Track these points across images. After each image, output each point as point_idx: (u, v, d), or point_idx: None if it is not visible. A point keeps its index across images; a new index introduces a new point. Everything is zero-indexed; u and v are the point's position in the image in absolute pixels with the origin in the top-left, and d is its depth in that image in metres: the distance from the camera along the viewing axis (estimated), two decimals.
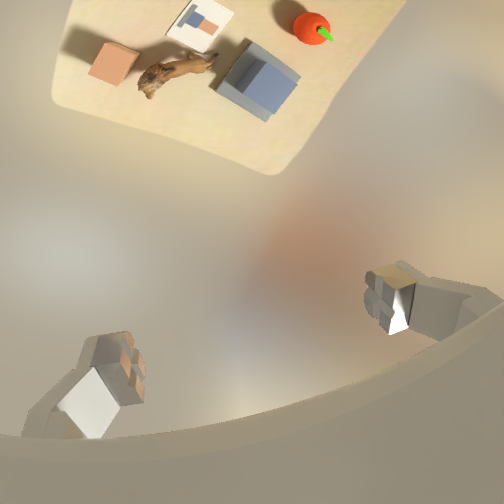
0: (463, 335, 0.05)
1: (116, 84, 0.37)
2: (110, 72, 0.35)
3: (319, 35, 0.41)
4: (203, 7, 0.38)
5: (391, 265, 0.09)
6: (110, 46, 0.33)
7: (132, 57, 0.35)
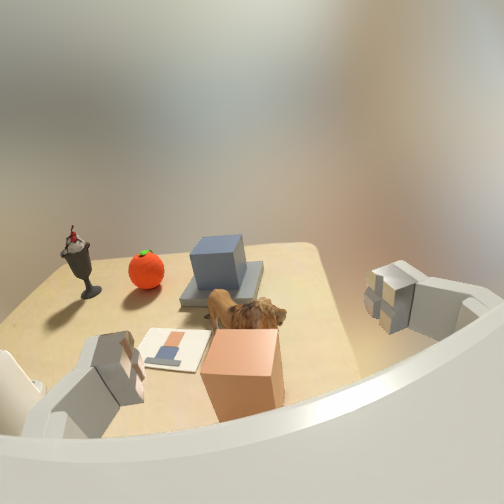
0: (463, 335, 0.05)
1: (274, 331, 0.26)
2: (256, 345, 0.24)
3: (148, 253, 0.53)
4: (147, 352, 0.38)
5: (391, 265, 0.09)
6: (206, 362, 0.23)
7: (221, 330, 0.27)
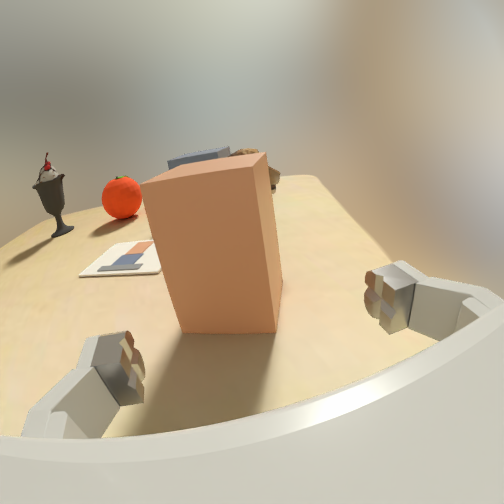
0: (463, 336, 0.05)
1: (261, 153, 0.17)
2: (232, 160, 0.16)
3: (125, 176, 0.44)
4: (104, 262, 0.29)
5: (391, 265, 0.09)
6: (153, 178, 0.15)
7: (185, 164, 0.18)
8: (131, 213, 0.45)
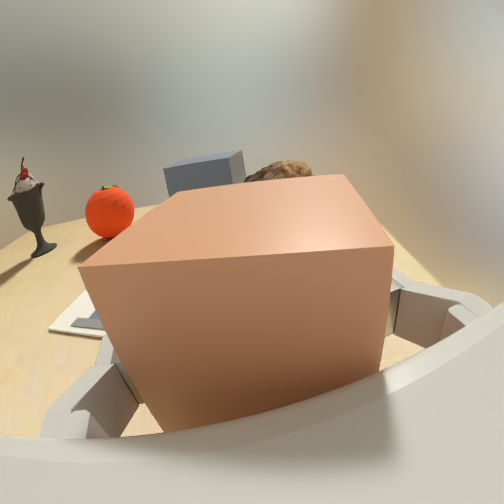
0: (463, 336, 0.05)
1: (337, 176, 0.09)
2: (291, 194, 0.07)
3: (113, 186, 0.36)
4: (81, 311, 0.21)
5: None
6: (115, 241, 0.06)
7: (187, 192, 0.10)
8: None
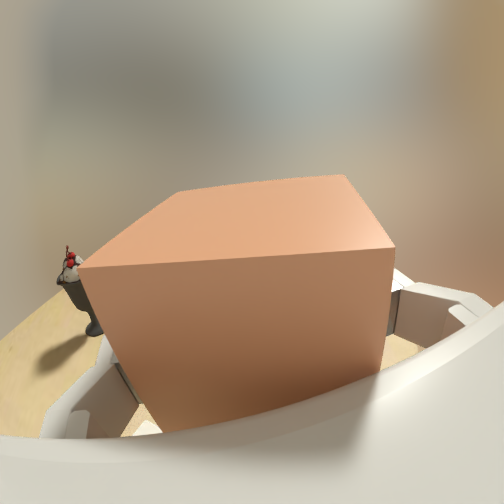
0: (463, 336, 0.05)
1: (337, 177, 0.09)
2: (291, 194, 0.07)
3: None
4: None
5: None
6: (113, 242, 0.06)
7: (186, 192, 0.10)
8: None
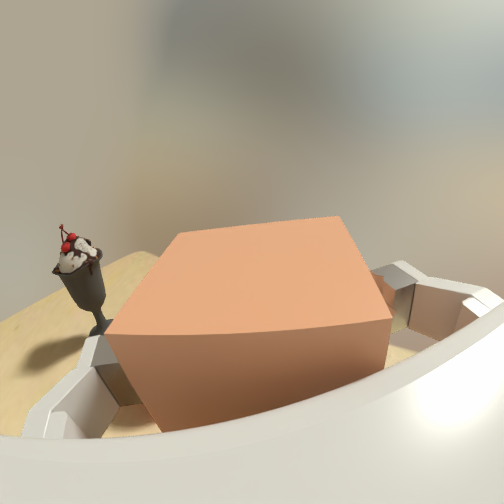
0: (462, 335, 0.05)
1: (333, 219, 0.10)
2: (294, 246, 0.08)
3: None
4: None
5: (391, 265, 0.09)
6: (133, 302, 0.07)
7: (188, 234, 0.10)
8: None
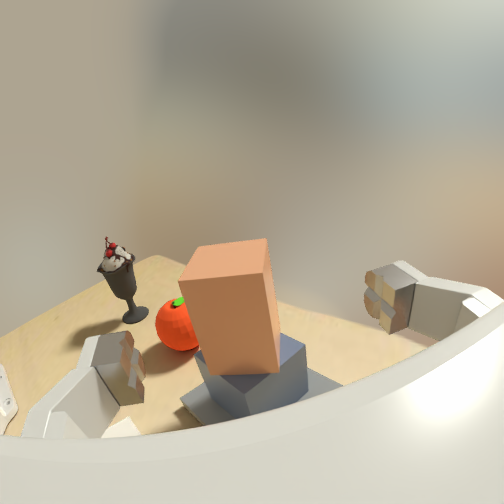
0: (463, 335, 0.05)
1: (263, 240, 0.23)
2: (242, 252, 0.22)
3: (183, 304, 0.36)
4: None
5: (391, 265, 0.09)
6: (185, 272, 0.20)
7: (202, 247, 0.24)
8: None
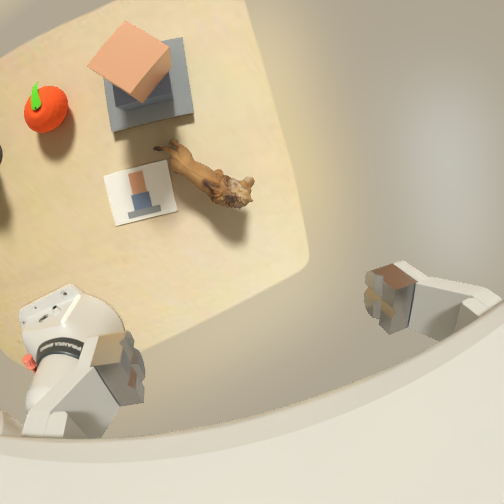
0: (463, 336, 0.05)
1: (125, 23, 0.19)
2: (130, 42, 0.20)
3: (42, 99, 0.28)
4: (123, 206, 0.42)
5: (391, 265, 0.09)
6: (121, 85, 0.22)
7: (91, 63, 0.20)
8: None
